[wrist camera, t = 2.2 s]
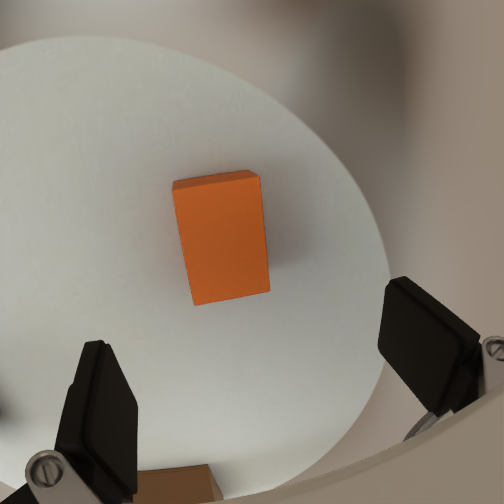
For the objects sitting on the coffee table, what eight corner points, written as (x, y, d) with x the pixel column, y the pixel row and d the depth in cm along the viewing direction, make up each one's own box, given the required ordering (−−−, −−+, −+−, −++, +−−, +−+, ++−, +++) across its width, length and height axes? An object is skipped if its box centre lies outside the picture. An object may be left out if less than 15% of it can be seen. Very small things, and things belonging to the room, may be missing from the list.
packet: (173, 181, 20) (171, 189, 17) (249, 169, 21) (259, 176, 18) (191, 284, 23) (194, 306, 20) (259, 272, 24) (270, 291, 21)
